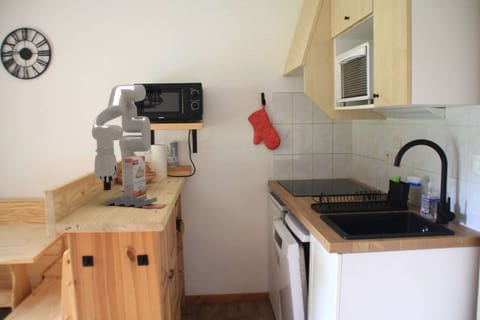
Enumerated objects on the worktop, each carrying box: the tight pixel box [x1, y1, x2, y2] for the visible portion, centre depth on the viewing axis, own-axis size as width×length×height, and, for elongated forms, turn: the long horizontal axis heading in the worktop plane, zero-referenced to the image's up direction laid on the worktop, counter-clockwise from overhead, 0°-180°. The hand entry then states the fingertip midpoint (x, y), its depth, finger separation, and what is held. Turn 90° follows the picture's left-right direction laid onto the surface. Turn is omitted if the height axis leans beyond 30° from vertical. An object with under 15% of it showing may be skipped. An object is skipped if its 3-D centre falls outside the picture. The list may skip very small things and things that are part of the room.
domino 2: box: [113, 195, 138, 207], centre depth 172 cm, size 2×5×9 cm
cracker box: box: [123, 155, 147, 198], centre depth 195 cm, size 14×6×21 cm, turn 168°
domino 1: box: [105, 194, 128, 206], centre depth 173 cm, size 2×5×9 cm
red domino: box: [141, 203, 166, 210], centre depth 168 cm, size 2×5×9 cm
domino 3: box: [124, 195, 148, 207], centre depth 171 cm, size 2×5×9 cm
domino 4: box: [133, 196, 158, 208], centre depth 168 cm, size 2×5×9 cm
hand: (107, 190), depth 174 cm, fingers closed
